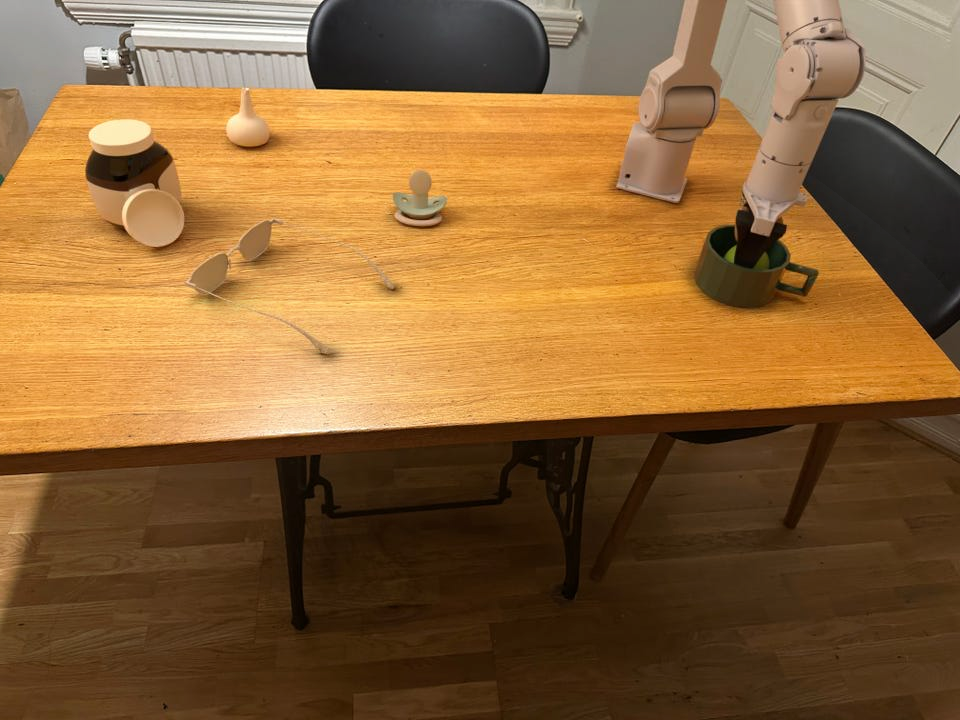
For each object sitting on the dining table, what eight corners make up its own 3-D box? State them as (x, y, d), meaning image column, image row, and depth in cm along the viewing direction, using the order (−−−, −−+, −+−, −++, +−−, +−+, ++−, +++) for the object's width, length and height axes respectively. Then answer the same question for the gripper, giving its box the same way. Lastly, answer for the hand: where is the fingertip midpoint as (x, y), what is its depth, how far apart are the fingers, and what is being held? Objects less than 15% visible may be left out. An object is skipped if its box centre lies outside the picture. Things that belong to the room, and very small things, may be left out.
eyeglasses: (275, 240, 88) (271, 212, 86) (399, 285, 83) (398, 257, 81) (189, 306, 78) (180, 277, 75) (324, 361, 73) (320, 333, 70)
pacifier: (443, 232, 93) (447, 207, 97) (445, 190, 88) (449, 166, 93) (388, 226, 93) (395, 202, 97) (387, 185, 88) (394, 161, 92)
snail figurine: (703, 269, 90) (733, 186, 81) (750, 269, 90) (784, 186, 82) (718, 296, 86) (751, 211, 77) (767, 295, 86) (805, 211, 78)
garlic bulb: (219, 142, 106) (209, 90, 100) (249, 128, 110) (241, 77, 104) (249, 155, 104) (241, 102, 98) (279, 140, 108) (273, 89, 102)
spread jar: (146, 192, 94) (122, 109, 86) (218, 212, 92) (201, 128, 84) (80, 237, 86) (47, 149, 78) (158, 260, 83) (132, 172, 75)
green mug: (687, 294, 86) (700, 257, 83) (700, 252, 93) (712, 216, 90) (802, 326, 83) (820, 290, 79) (806, 280, 90) (823, 245, 87)
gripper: (821, 192, 71) (773, 297, 80) (825, 136, 81) (781, 235, 90) (751, 175, 72) (711, 280, 82) (763, 122, 82) (727, 221, 92)
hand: (744, 255), depth 86 cm, fingers open, 5 cm apart
